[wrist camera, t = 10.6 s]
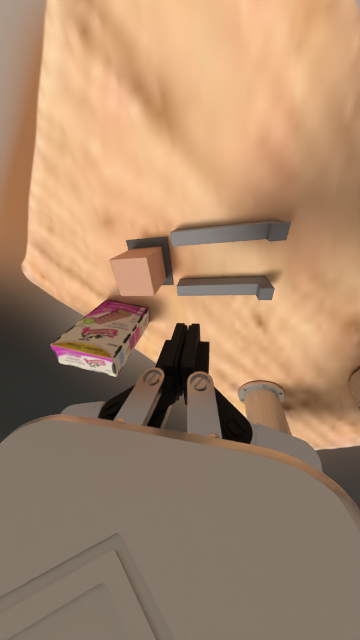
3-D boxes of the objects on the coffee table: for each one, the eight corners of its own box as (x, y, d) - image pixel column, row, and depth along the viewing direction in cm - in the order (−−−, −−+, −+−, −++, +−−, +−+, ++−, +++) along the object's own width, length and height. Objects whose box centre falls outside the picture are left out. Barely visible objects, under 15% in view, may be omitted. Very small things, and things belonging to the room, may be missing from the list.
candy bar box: (149, 306, 38) (113, 359, 24) (149, 323, 41) (118, 378, 27) (105, 298, 39) (47, 344, 25) (108, 315, 42) (58, 364, 28)
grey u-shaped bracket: (263, 286, 30) (271, 299, 26) (180, 288, 34) (175, 300, 29) (276, 219, 24) (290, 222, 20) (174, 230, 28) (167, 234, 23)
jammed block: (166, 278, 33) (154, 295, 26) (139, 279, 34) (121, 296, 27) (161, 246, 29) (146, 257, 23) (131, 249, 31) (109, 260, 24)
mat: (173, 284, 33) (173, 284, 33) (138, 285, 35) (137, 285, 35) (167, 236, 28) (167, 236, 28) (126, 240, 30) (126, 240, 30)
